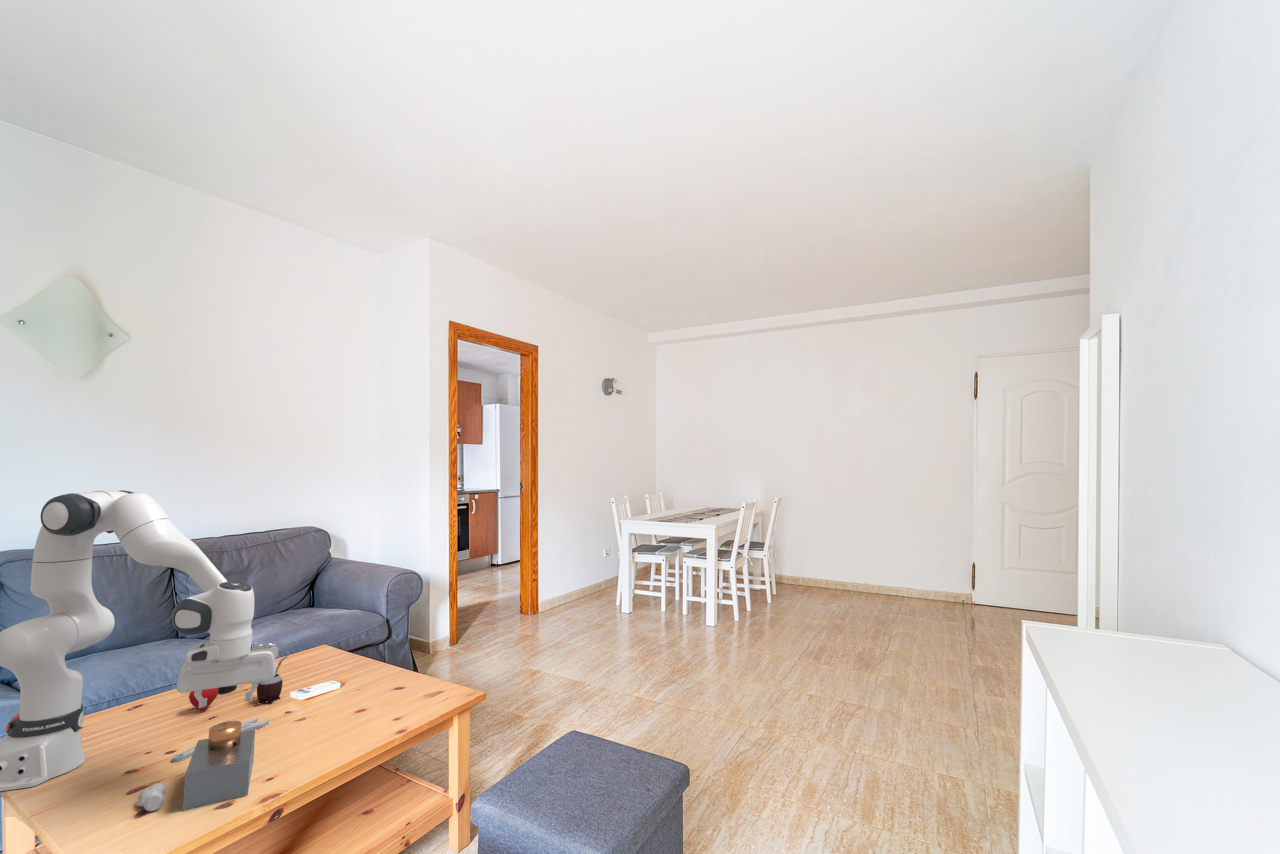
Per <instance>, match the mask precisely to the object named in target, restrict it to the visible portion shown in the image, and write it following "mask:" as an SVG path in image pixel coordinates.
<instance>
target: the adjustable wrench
mask: <svg viewBox="0 0 1280 854" xmlns="http://www.w3.org/2000/svg"><path fill="white" fill-rule="evenodd" d="M258 720H259V719H258V718H257V717H256V718H253V719H252V718H251V719H248V720H245V721H244V722H241V732H246V731H251V730H255V729H258V730H261V729H260V728H262V729H263V727H264V728H266V727H267V726H269V724H270V718H266V719H264V720H262V721H260V722H258ZM256 722H257V723H256ZM266 725H267V726H266ZM265 726H266V727H265ZM255 731H256V730H255ZM195 747H196V745H195V746H193V747H191V748H189V749H186V750H183V751H182V752H179V753H176V754H175V755H173V756H172V757H171V763H174V762H175V763H180V762H182V761H185V760H187V759H189V758H192V755H193V752H194V750H195Z"/></svg>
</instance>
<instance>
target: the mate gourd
mask: <svg viewBox="0 0 1280 854" xmlns="http://www.w3.org/2000/svg"><path fill="white" fill-rule="evenodd" d="M289 656H290V655H289V654H287V655H286V656H284V657H283V658H281V660H279V662H278V665H277V667H276V668H275V676H274V677H273V679H272V680H269V681H262V682H259V683H258V687H257V688H256V697H257V700H258V701H257V704H258V703H261V704H263V703H262V702H265V703H268V705H272V704H273V701H272V700H274V701H277V699H278V700H281V693H282V688H283V678H282V676H281V674H279V673H278V671H279V669H280V666H281V664H282V662H283V661H284V660H286V658H288V657H289ZM266 701H268V702H266Z"/></svg>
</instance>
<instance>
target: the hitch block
mask: <svg viewBox="0 0 1280 854" xmlns="http://www.w3.org/2000/svg"><path fill="white" fill-rule="evenodd" d="M255 736H256V730H251V731H246V732H241V740H240V742H239V743H237V744H236V745H234V746H231V747H228V748H224V749H219V750H212V749H209V748H208V739H209V738H204V739H200V740H199V739H198V740H197V743H196V745H195V746H196V747H195V746H194V747H195V750H194V752H193V755H192V756H191V757H190V761H189V763H188V766H187V768H186V770H185V771H186V772H185V776H184V788H183V804H182V805H183V806H182V811H183V812H184V811H187V810H188V811H189V810H193V809H197V808H200V807H206V806H210V805H214V804H216V803H221V802H226V801H229V800H235V799H238V797H239V798H242V796H243V797H246V796H245V795H247V796H249V788H250V783H251V777H252V772H253V771H252V770H253V766H254V756H255V754H254V753H255V738H256V737H255Z"/></svg>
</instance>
